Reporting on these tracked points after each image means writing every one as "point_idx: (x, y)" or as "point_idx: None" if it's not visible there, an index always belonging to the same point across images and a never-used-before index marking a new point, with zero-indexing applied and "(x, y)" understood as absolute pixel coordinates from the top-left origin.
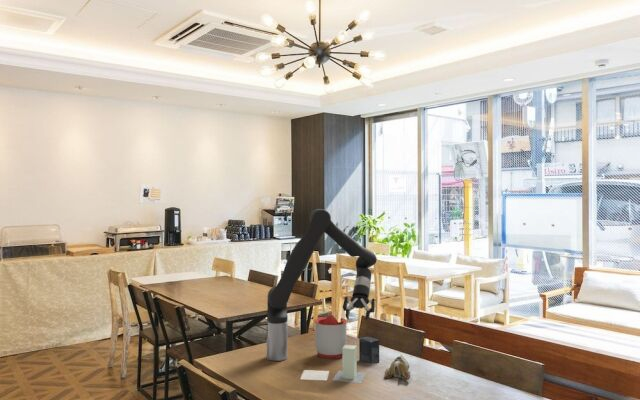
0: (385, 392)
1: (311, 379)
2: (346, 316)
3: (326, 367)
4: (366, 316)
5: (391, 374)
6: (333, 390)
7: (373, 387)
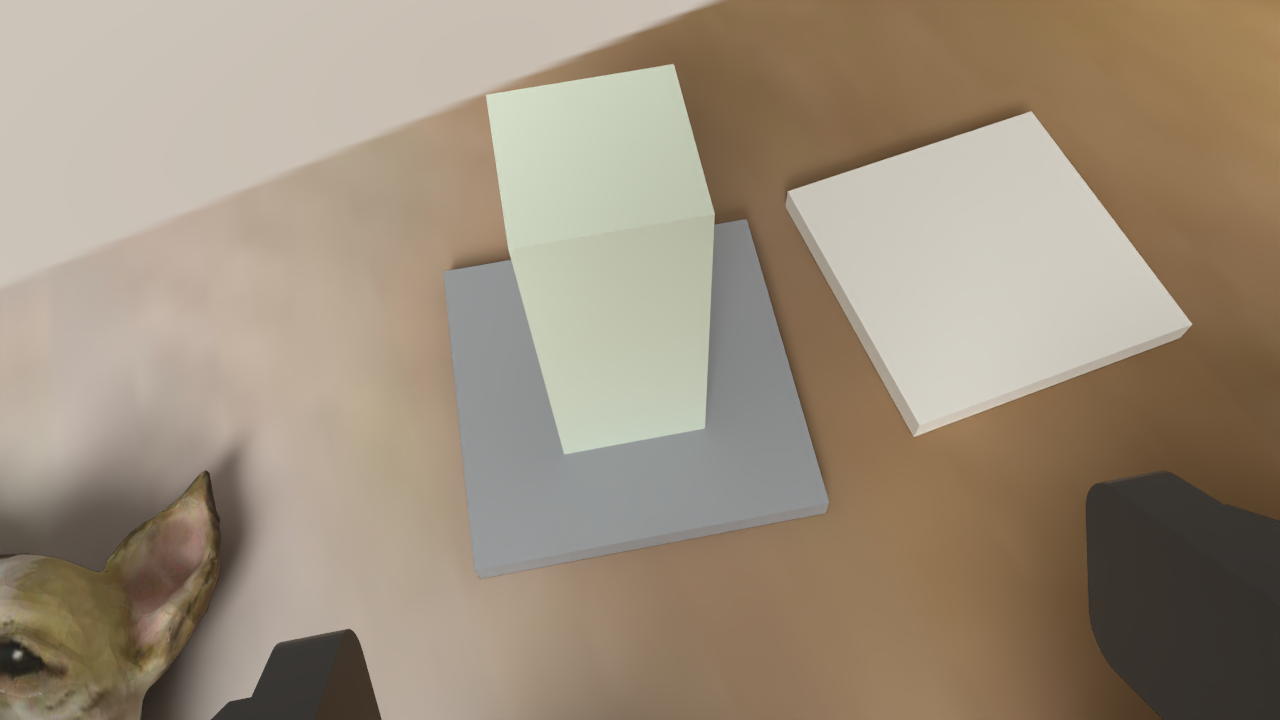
0: (186, 251)
1: (934, 149)
2: (1154, 473)
3: (1073, 613)
4: (286, 664)
5: (121, 546)
6: None
7: (319, 304)
